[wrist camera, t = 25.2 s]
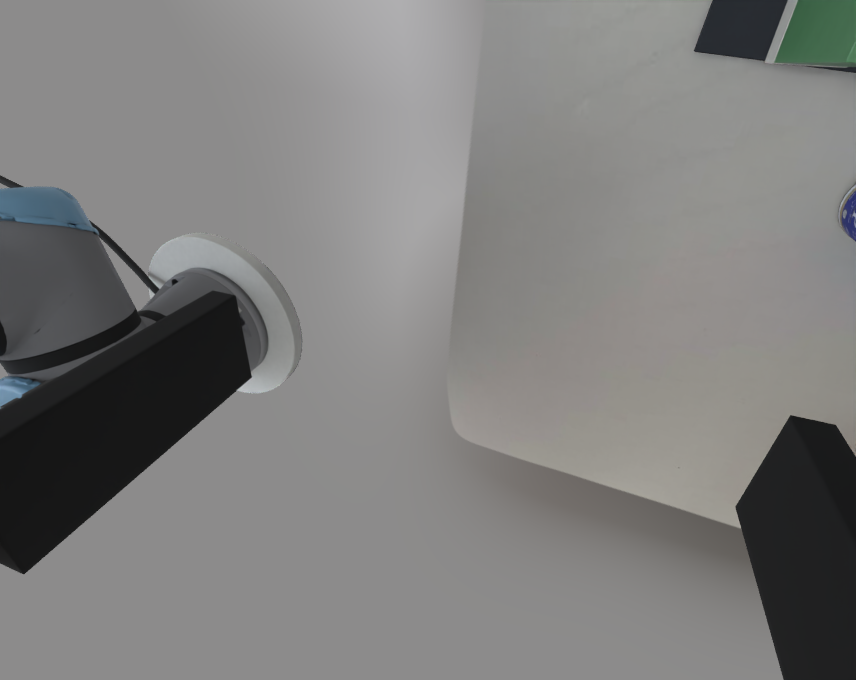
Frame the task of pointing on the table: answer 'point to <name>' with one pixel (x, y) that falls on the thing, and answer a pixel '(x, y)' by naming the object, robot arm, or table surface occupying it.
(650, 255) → the table surface
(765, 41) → the mat
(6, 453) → the robot arm
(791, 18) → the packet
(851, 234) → the pill bottle
